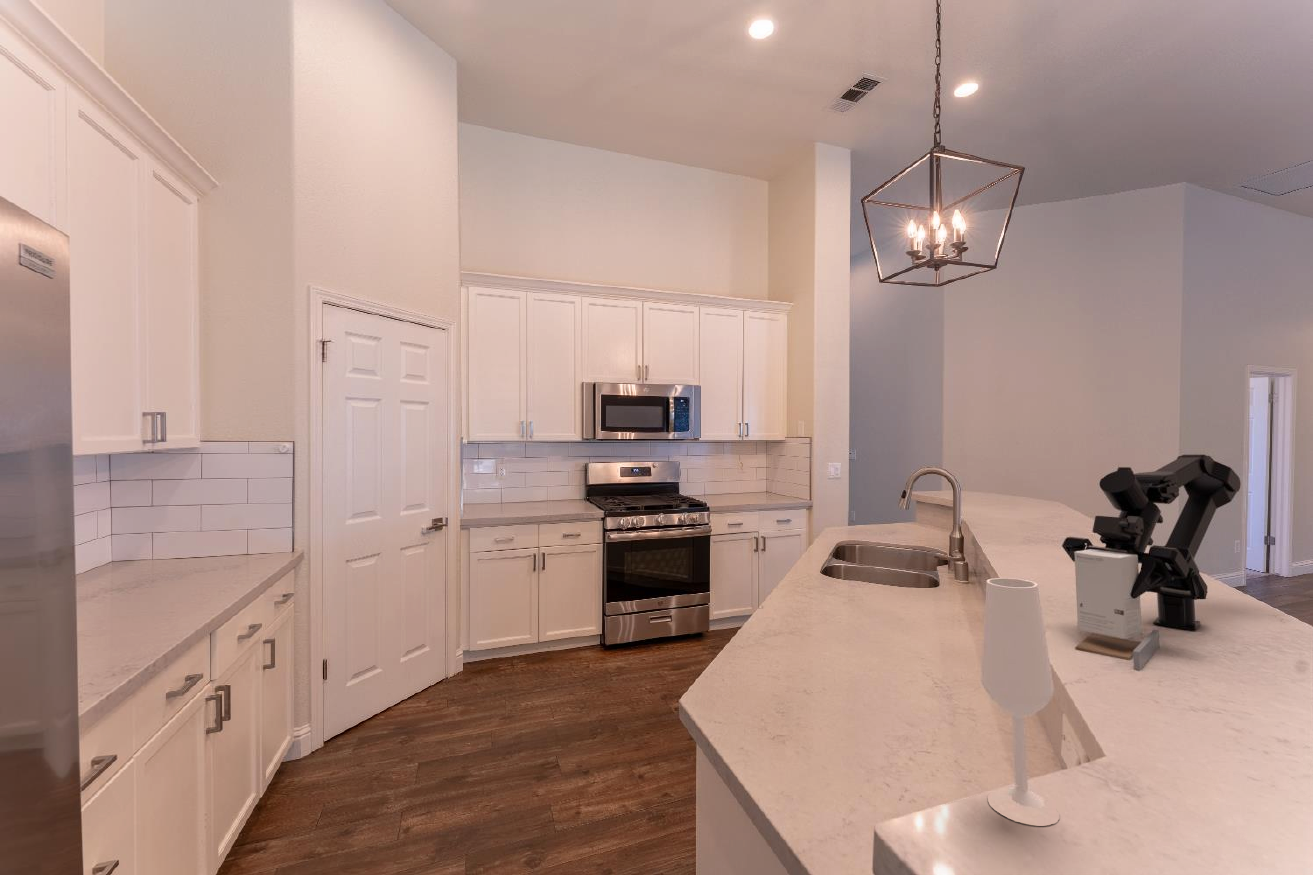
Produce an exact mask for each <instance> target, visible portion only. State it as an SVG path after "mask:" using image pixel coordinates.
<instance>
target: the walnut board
mask: <svg viewBox="0 0 1313 875" xmlns="http://www.w3.org/2000/svg"><path fill="white" fill-rule="evenodd" d="M1141 642H1142V641H1138V640H1132V639H1120V638H1117V637H1113V636H1107V635H1102V634H1097V633H1092V632H1091V633H1090V634H1089V635H1088V636H1087V637H1086V638H1085V639H1083V640H1082V641H1080V643H1078V644H1077V645H1076V646H1075V647H1074V649H1075V650H1078V651H1083V652H1087V653H1088V652H1089V653H1093V654H1099V655H1103V656H1108V657H1113V658H1119V659H1123V660H1128V661H1130V660H1131V659H1133V651H1134V650H1135V648H1136V647H1137V646H1138V645H1139V644H1140V643H1141Z"/></svg>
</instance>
